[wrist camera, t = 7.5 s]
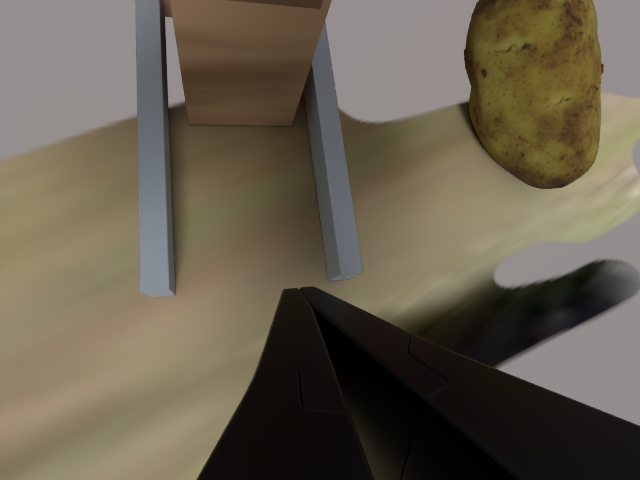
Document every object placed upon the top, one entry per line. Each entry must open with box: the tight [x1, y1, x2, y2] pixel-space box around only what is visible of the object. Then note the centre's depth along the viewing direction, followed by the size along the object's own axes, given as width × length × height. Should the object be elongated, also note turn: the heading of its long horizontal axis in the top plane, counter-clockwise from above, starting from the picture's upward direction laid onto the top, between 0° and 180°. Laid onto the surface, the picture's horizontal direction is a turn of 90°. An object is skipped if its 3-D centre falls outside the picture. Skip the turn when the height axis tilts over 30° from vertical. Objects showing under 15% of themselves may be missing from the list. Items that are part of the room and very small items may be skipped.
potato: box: [464, 0, 603, 189], centre depth 25 cm, size 8×13×8 cm, turn 3°
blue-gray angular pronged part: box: [135, 0, 363, 298], centre depth 20 cm, size 18×11×7 cm, turn 7°
